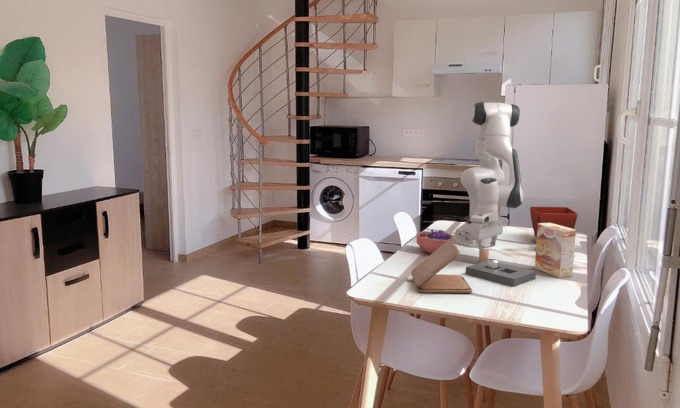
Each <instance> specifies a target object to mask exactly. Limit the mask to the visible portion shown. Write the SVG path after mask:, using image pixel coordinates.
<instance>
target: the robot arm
mask: <svg viewBox="0 0 680 408" xmlns="http://www.w3.org/2000/svg"><path fill="white" fill-rule="evenodd" d="M470 112H471V113H470V117H471V121H472V122H473V124H475V125H478V129H477V134H476V141H475V149H474V154H475V156H476V157H477V158H478V160H479V166H474V167H470V168H469V167H468V168H467V169H465V170H463V171H462V172H461V175H460V183H461V185H462V187H464V188H465V190H466V192H467V195H468V197H469V198H468V199H469V215H467V216H465V217H464V220H466V221H465V222H464V223H463V224H461V225H460V226H459V227H457V228H456V229H455V232H454V236H456V237H455V239H454V242H453V244H454V243H455V244H459V245H462V246H465V247H469V248H472V247H473V248H474V247H476V248H477V249H478V250H479V249H480V250H481V249H484V248H487V247H488V248H489V247H495V246H496V242H497V240H498V236H500V235H503V233H504V229H503V227H504V226H503V225H504V224H503V219H502V217H501V215H500V213H499V207H501V208H502V207H503V208H509V209H510V208H511V209H517V208H518V207H520V206H521V205H522V204H523V202H524V191H523V187H522V181H521V180H522V179H521V172H520V171H521V170H520V163H519V156H518V155H519V154H518V152H517V150H516V149H515V148H513V146H512V144H511V132H512V131H511V128H513V127H515V126H517V125H518V124H519V121H520V118H521V110H520V107H519V105H517V104H513V103H504V102H498V101H497V102H484V101H480V102H479V101H478V102H476V103H474V104H473V106H472V109H471V111H470ZM499 160H500V161H503V162H505V163H506V164H507V165H508V168H509V179H510V184H503V182H504V181H505V173H504V170H503V169H502V168H501V165H500V161H499Z"/></svg>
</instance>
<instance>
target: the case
mask: <svg viewBox="0 0 680 408" xmlns="http://www.w3.org/2000/svg"><path fill="white" fill-rule="evenodd" d="M459 254H460V250H459V249H458V247H457V245H456V244H454V242H453V243H452V242H451V241H447V242H445V243H444V244H443V245H441V246H440V247H439V248H438V249H437V250H436V251H434V252H433V253H430V255H428V256H427V257H426V258H425V259H424V260H423V261H422V262H420V263H419V264H417V265H416V267H414V268H413V269H412V271H411V273H410V275H411V277H412V280H413V283H414V286H415V287H416V290H417V292H418V293H424V294H429V293H432V294H433V293H434V294H435V293H436V294H441V293H442V294H443V293H444V294H445V293H446V294H470V293H471V294H472V293H473V289H472V288H471V286H470V285H469V283H468V281H467V280H466V279H465V277H463V276H462V275H459V274H437V273H439V272H440V271H442V270H443V269H444V268H445V267H446V266H448V265H449V264H450V263H451V262H453V261H454V260H455V259H456V258H457V257H458V256H459Z"/></svg>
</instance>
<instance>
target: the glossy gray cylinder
mask: <svg viewBox="0 0 680 408" xmlns="http://www.w3.org/2000/svg"><path fill="white" fill-rule="evenodd" d="M498 263H499V259H496V258H488V268H489V269H493V270H496V269H498Z"/></svg>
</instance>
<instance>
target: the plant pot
mask: <svg viewBox="0 0 680 408" xmlns="http://www.w3.org/2000/svg"><path fill="white" fill-rule="evenodd" d="M529 213H530V219H531V225H532V230H533V232H534V233H533V234H534V237H535V240H537V227H538V223H553V224H557V225H561V226H564V227H568V228H571V229H575V227H576V223H577V220H578V213H577V212H576V211H574V210H573V209H571V208H570V207H566V206H529Z"/></svg>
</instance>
